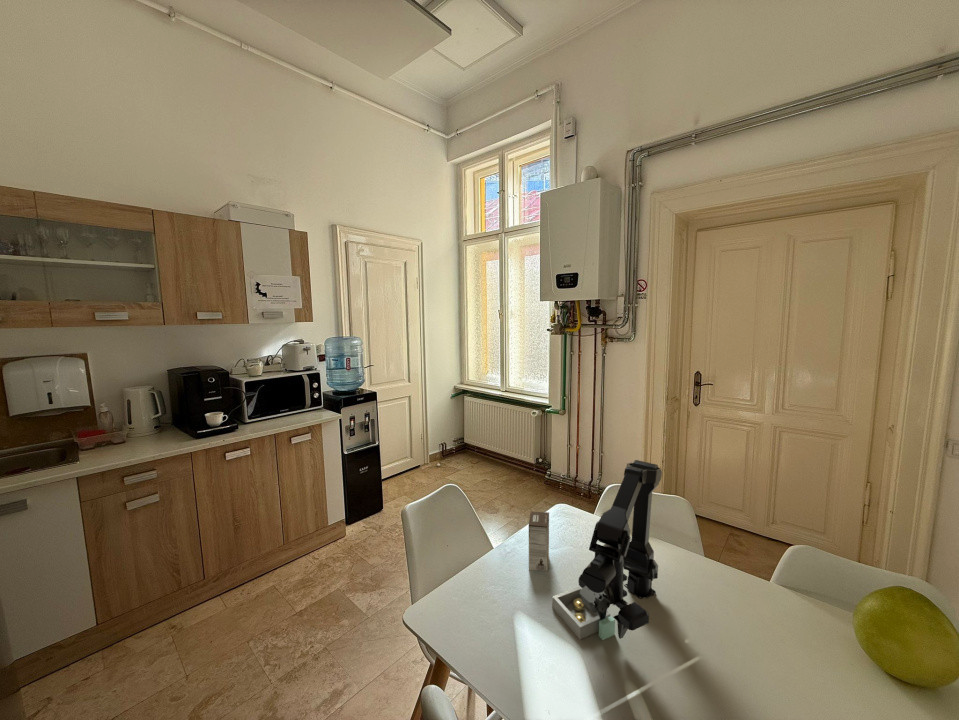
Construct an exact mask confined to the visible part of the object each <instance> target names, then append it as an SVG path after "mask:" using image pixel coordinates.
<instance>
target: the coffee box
mask: <svg viewBox="0 0 959 720" xmlns="http://www.w3.org/2000/svg"><path fill="white" fill-rule="evenodd" d="M549 552H550V512H547V511H530V515H529V520H528V571H533V570H534V571H545V572H548V570H549V561H550V560H549V559H550V557H549V556H550V553H549Z"/></svg>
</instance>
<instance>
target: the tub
mask: <svg viewBox="0 0 959 720" xmlns="http://www.w3.org/2000/svg"><path fill="white" fill-rule="evenodd" d="M581 589H582V587H580V586H579V585H578V586H577V587H574V588H572V589H569V590H566V591H563V592H561V593H557V594H555V595H553V596H551V597H552V601H551V603H552V604H551V607H552V609H553V610H554V612H555V613H556V614H557V615H558V616H559V617H560V619H561V620H562V621H563V622H564V623H565V624H566V625H567V627H568V628H569V629H570V630H571V631H572V633H574V635H575V636H576V637H577V639H579V640H582V639H584V638H587V637H588V636H591V635H593V634H596V633H599V621H601V620H600V617H599V614H598V612H596V613H593V612H592V611H591V610H590V609H589V608H588V607H587V606H586V605H584V611H583V612H581V613H582V614H584V615H585V617H586V621H584V622H582V623H580V622H579V621H578V620H577V619H576V617H575V616H574V615H575V614H576V613H579V612H576V611H575V610H574V609H573V601H574V599H575V598H580V599H581V596H580V590H581ZM610 616H611V613H610V612H609V611H608V610H607V612H606V617H605V618H608V617H610Z"/></svg>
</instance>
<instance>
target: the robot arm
mask: <svg viewBox="0 0 959 720" xmlns="http://www.w3.org/2000/svg"><path fill="white" fill-rule="evenodd" d="M662 471H663V470H662V469H661V468H660V467H659V465H658V464H656V463H651V462H647V461H643V460H639V459H635V460H634V461H633V462H627V463H626V467H625V468H624V472H623V479H622V481H621V483H620V486H619V489H618V491H617V494H616V495H615V498H614V501H613V502H612V505H611V507H610V509H608V510H606V511H604V512H603V513H602V514H601V516H600V518H599V520H598V521H597V522H596V524H595V525H594V529H593V533H592V535H591V536H592V537H591V540H590V544H589V547H588V551H591V552H593V553H594V558H593V559H592V560H591V561H590V563H589V564H588V565H587V566H586V567H585V568H584V569H583V571H582V573H581V574H580V575H579V577H578V587H579V586H580V587H582V589H581V590H580V596H581V599H582V601H583V604H584V605H586V606H587V607H588V608H589V609H590V610H591V611H592V612H593V613H596V612H598V614H599V617H600V620H603V619H605V617H606V612H607V611H608V609H609V608H610V606H611V605H612V606H616V607H617V608H618V609H619V611H618V612H617V615H615V616H612V617H613V618H614V619H615V621H616V622H617V624H616V625H617V635H618V638H619V639H623V638H624V637H625V634H626V633H627V632H628V630H629V631H635V630H638V629H639V628H641V627H643V626H646V625H648V624H650V613H649V612H648V611H647V610H646V609H644V608H643V607H642V606H641V605H639V604H638V603H637V602H635V601H634V602H631V603H628V602H627V601H626V600H625V599H624V598H625V597H627V596H628V591H629V592H630V593H631V594H632V595H635V596H636V597H637V598H638V599H640V600H642V599H644V598H645V599H647V598H649V597H651V596H654V595H655V594H656V593H657V592H656V590H655V589H653V588H652V585H653V584H652V582H653V581H654V580H655V579H656V580H657V579H658V578H659V577H658V576H659V564H658V563H657V561H656V560H655V559H654V556H655V554H654V553H655V552H654V549H653V547H652V545H651V543H650V542H649V540H650V539H649V538H650V528H651V527H650V526H651V513H652V511H651V510H652V500H653V499H652V497H653V492H654V491H655V490H656V489H657V487H658V486H659V484H660V482H661V480H662V476H663V472H662ZM631 514H632V526H631V527H632V528H631V529H630V525H629V520H630V517H631ZM598 542H599V543H602V544H603V545H601V544H599V543H598ZM624 570H626V571H628V575H626V574H625V573H624ZM625 581H627V583H625V584H624V582H625ZM624 587H625V588H626V589H627V590H628V591H627V590H626V589H624Z"/></svg>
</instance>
